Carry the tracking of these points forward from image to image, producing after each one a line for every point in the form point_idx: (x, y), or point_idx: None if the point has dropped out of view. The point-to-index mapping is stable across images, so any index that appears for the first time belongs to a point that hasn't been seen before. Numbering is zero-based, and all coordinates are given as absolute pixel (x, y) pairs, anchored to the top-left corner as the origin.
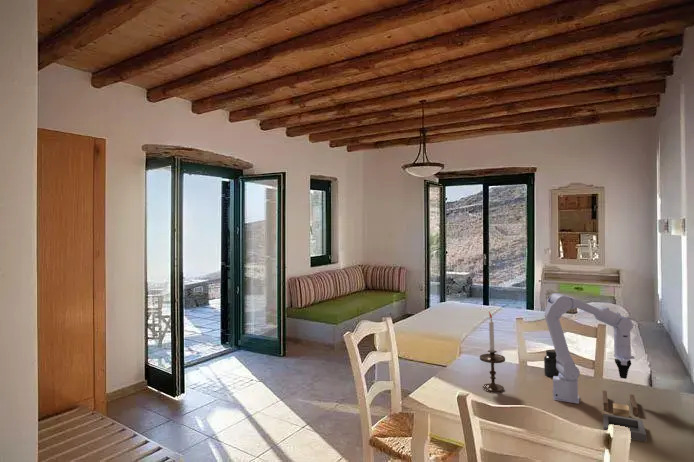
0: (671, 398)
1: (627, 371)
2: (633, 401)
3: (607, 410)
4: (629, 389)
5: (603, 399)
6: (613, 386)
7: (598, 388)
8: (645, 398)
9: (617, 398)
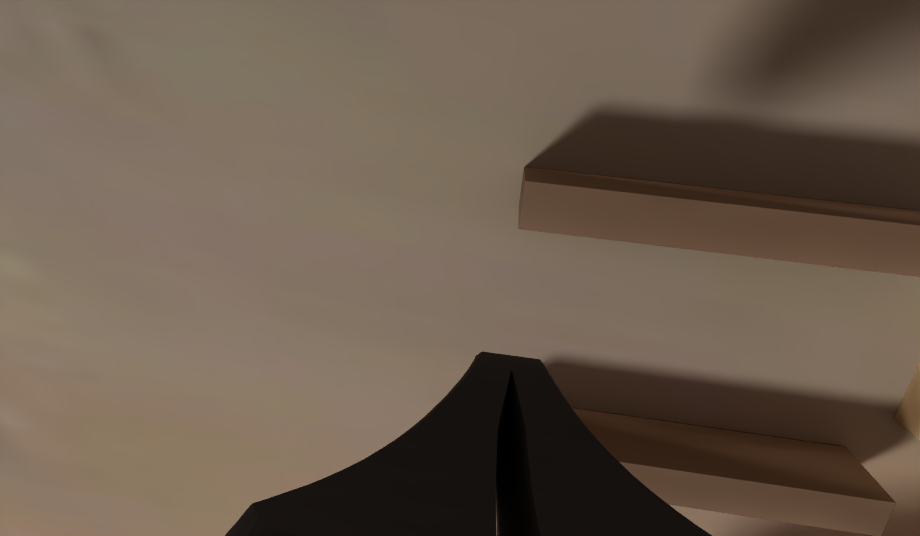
0: None
1: (602, 450)
2: (784, 237)
3: (846, 455)
4: (125, 137)
5: (784, 521)
6: (116, 278)
7: (248, 416)
8: (350, 16)
9: (465, 307)
